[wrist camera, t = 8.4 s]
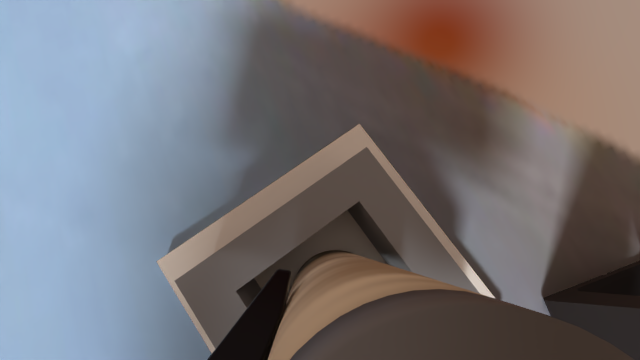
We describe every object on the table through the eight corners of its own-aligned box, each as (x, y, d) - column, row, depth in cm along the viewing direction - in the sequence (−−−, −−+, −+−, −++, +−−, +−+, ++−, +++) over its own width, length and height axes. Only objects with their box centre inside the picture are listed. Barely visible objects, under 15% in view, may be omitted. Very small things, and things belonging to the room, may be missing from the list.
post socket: (304, 489, 15) (302, 615, 10) (165, 259, 17) (105, 269, 12) (500, 315, 17) (580, 347, 12) (356, 129, 19) (374, 91, 14)
